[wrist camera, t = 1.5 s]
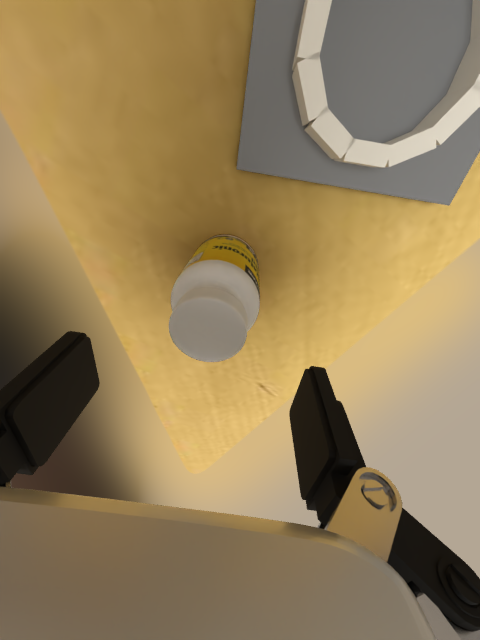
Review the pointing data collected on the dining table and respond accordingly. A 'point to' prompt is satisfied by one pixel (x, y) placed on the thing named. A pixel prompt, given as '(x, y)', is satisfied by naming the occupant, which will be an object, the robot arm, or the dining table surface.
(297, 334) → the dining table surface
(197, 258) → the supplement bottle
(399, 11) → the pin board
